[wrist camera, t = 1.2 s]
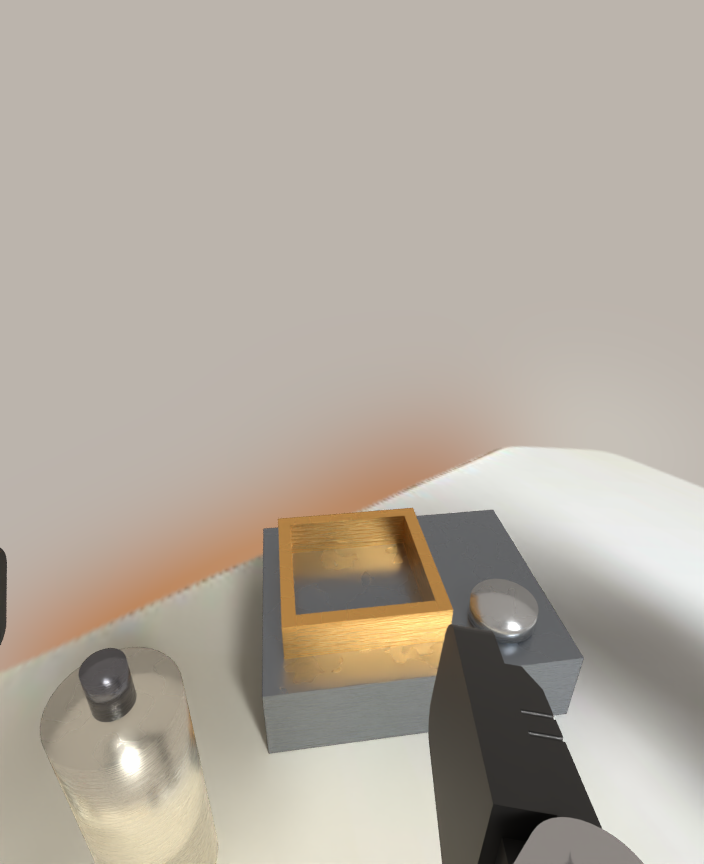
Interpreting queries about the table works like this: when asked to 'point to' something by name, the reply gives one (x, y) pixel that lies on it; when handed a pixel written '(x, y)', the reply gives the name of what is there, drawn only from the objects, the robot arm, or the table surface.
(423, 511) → the table surface
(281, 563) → the grey base with tray
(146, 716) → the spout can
